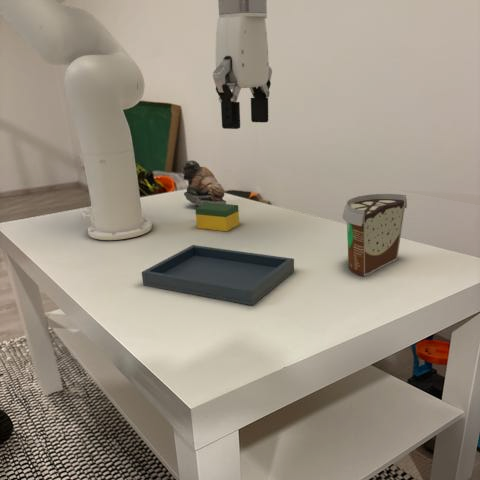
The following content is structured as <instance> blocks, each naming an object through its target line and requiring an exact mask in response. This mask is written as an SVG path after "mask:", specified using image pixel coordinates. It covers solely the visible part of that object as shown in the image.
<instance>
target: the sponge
mask: <svg viewBox="0 0 480 480" xmlns="http://www.w3.org/2000/svg"><path fill="white" fill-rule="evenodd" d="M194 209H195V219H196V228H197V229H201V230H202V229H204V230H213V231H219V232H228V231H230V230H233V229H234V228H236V227H238V226H239V225H240V213H239V205H238V204H230V203H229V204H228V203H226V204H220V203H207V204H204V205H202V206H197V207H195V208H194Z"/></svg>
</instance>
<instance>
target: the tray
mask: <svg viewBox="0 0 480 480" xmlns="http://www.w3.org/2000/svg"><path fill="white" fill-rule="evenodd" d="M294 272H295V258H294V257H293V258H292V257H284V256H277V255H270V254H262V253H255V252H247V251H239V250H234V249H233V250H232V249H227V248H226V249H225V248H218V247H211V246H205V245H204V246H203V245H196V244H191V245H190V246H188V247H187V248H184V249H182V250H181V251H178V252H177V253H175V254H173V255H171V256H169V257H167V258H165V259H163V260H162V261H160V262H158V263H156V264H153V265H152V266H151V267H148V268H146V269H144V270H143V271H141V278H142V285H143V286H147V287H153V288H157V289H163V290H168V291H173V292H178V293H183V294H188V295H194V296H199V297H204V298H210V299H215V300H221V301H226V302H231V303H235V304H236V303H237V304H241V305H248V306H254V305H255V304H256V303H258V302H259V301H260V300H262V298H263V297H265V296H266V295H267V294H269V293H270V292H271V291H272V290H274V289H275V288H276V287H277V286H278V285H279V284H281V283H282V282H283V281H284V280H286V279H287V278H288V277H289V276H291V275H292V274H293V273H294Z"/></svg>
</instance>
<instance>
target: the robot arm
mask: <svg viewBox="0 0 480 480" xmlns="http://www.w3.org/2000/svg"><path fill="white" fill-rule="evenodd" d="M217 2H218V3H217V4H218V18H217V23H216V32H215V33H216V34H215V69H214V70H213V71H212V78H213V81H214V84H215V85H214V86H215V92H216V93H217V95H218V101H219V103H220V110H221V111H220V113H221V114H220V115H221V128H222V129H227V130H239V129H240V128H241V105H240V103H241V102H240V101H238V98H239V95H240V92H241V89H249V90H250V92H251V96H252V97H250V119H251V122H252V123H268V122H269V97H270V87H271V84H272V83H271V79H272V74H273V69H272V67H271V66H270V65H269V45H268V32H267V23H266V19H267V18H268V14H267V13H268V9H267V8H268V7H267V2H268V1H267V0H217ZM0 15H2V17H3V18H4V19H5V21H6V22H7V23H8V24H9V25H10V26H11V27H12V29H14V31H15V32H16V33H17V34H18V35H19V36H20V37H21V38H22V39H23V41H24V42H26V44H27V45H28V46H29V47H30V48H31V49H32V51H33V52H34V53H35V54H36V55H37V56H38V57H39V58H40V59H41V60H43V62H46V63H47V64H50V65H54V66H68V67H67V69H66V71H65V74H64V81H63V84H64V92H65V97H66V99H67V102H68V105H69V109H70V111H71V114H72V117H73V120H74V124H75V127H76V131H77V135H78V136H77V137H78V141H79V146H80V151H81V155H82V160H83V161H82V162H83V167H84V171H85V178H86V183H87V189H88V194H89V200H90V206H91V207H87V208H86V209H85V211H83V212H82V213H81V217H82V219H83V220H90V226H88V228H87V234H88V236H89V237H90V238H92V239H95V240H100V241H117V240H118V241H119V240H127V239H132V238H136V237H140V236H142V235H145V234H147V233H149V232H150V231H151V230H152V228H153V226H152V225H153V224H152V221H150V220H149V219H147V218H144V216H143V209H142V208H143V207H142V201H141V194H140V186H139V179H138V172H137V165H136V157H135V150H134V144H133V138H132V133H131V128H130V125H129V123H128V120H127V118H126V115H125V112H124V110H129V109H131V108H133V107H135V106H136V105H138V104H139V102H140V101H141V100H142V98H143V96H144V93H145V88H146V87H145V85H146V84H145V78H144V75H143V73H142V70H141V68H140V67H139V65H138V63H137V62H136V61H135V59H134V58H133V57H132V56H131V55H130V53H128V52H127V50H126V49H125V48H124V47H123V46H122V45H121V43H120V42H119V41H118V40H117V39H116V38H115V37H114V36H113V34H112V33H111V32H110V31H109V30H108V28H107V27H106V26H105V25H104V24H103V23H102V22H101V21H100V20H99V19H98V18H97V17H96V16H95V15H93V14H92V13H90V12H89V11H87V10H86V9H83V8H80V7H75V6H70V5H65V4H63V3H60V2H58V1H57V0H0Z"/></svg>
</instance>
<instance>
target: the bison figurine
mask: <svg viewBox="0 0 480 480" xmlns="http://www.w3.org/2000/svg"><path fill="white" fill-rule="evenodd" d="M182 168H183V171H182V174H183V180H184V181H187V184H188V186H187V188H186V191H185V192H183V195H184V197H185V199H186V200H187V201H189V202H190V203H191V204H194V205H196V206H197V207H200V206H202V205H204V204H207V203H220V204H227V201H226V200H225V199H223V198H224V197H225V190H224V187H223V186H222V184H221V183H220V182H219V181H218V179H217V178H216V177H215V175H214V173H213V172H212V171H211V170H210V169H209V168H208V167H206V166H201V165H200V163H199V162H198V161H196V160H185V163H184V165H183V167H182Z"/></svg>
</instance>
